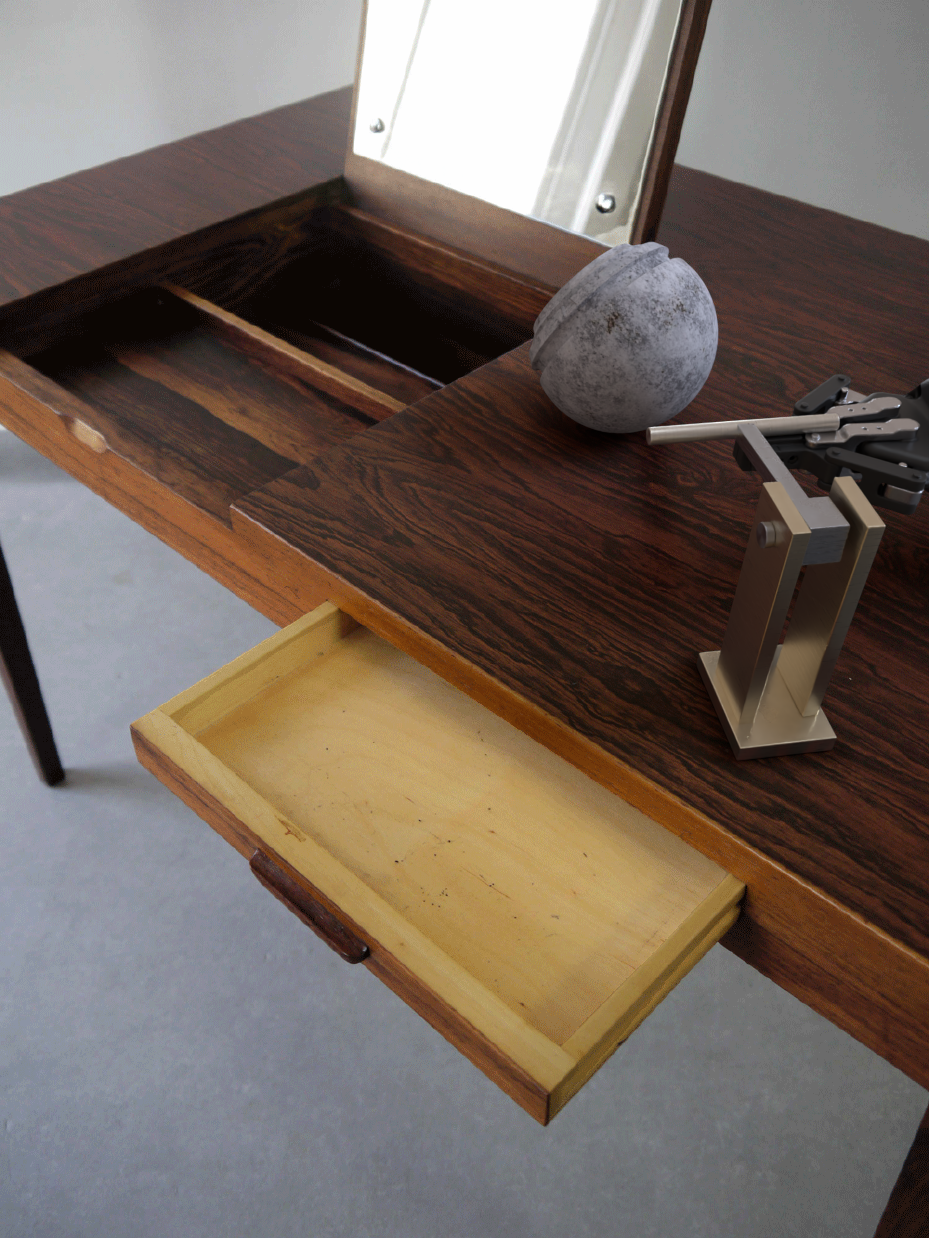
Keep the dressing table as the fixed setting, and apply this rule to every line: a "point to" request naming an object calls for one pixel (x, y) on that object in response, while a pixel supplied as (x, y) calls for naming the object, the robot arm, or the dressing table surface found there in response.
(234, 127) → the dressing table surface
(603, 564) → the dressing table surface
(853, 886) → the dressing table surface
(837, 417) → the tap lever
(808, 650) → the bracket
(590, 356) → the decorative orb
